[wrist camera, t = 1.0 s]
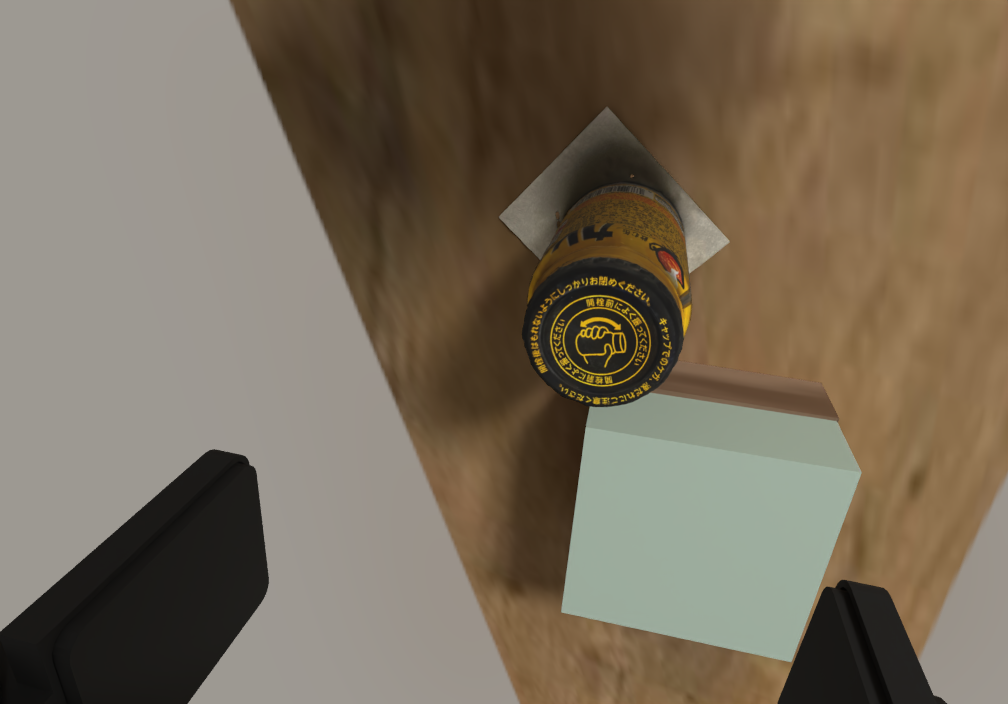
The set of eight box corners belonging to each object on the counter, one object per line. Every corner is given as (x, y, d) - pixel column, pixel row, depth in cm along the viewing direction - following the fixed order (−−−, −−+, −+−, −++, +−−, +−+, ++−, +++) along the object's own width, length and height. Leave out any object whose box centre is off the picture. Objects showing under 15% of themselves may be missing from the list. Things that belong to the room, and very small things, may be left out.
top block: (594, 384, 31) (585, 427, 27) (836, 421, 29) (861, 472, 25) (571, 556, 35) (561, 612, 32) (777, 598, 33) (791, 662, 30)
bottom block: (603, 345, 34) (596, 378, 30) (819, 378, 32) (839, 418, 29) (578, 506, 39) (570, 552, 35) (765, 543, 37) (776, 595, 33)
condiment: (613, 333, 33) (592, 465, 22) (499, 216, 32) (419, 297, 21) (729, 240, 30) (768, 343, 19) (607, 105, 29) (577, 136, 18)
